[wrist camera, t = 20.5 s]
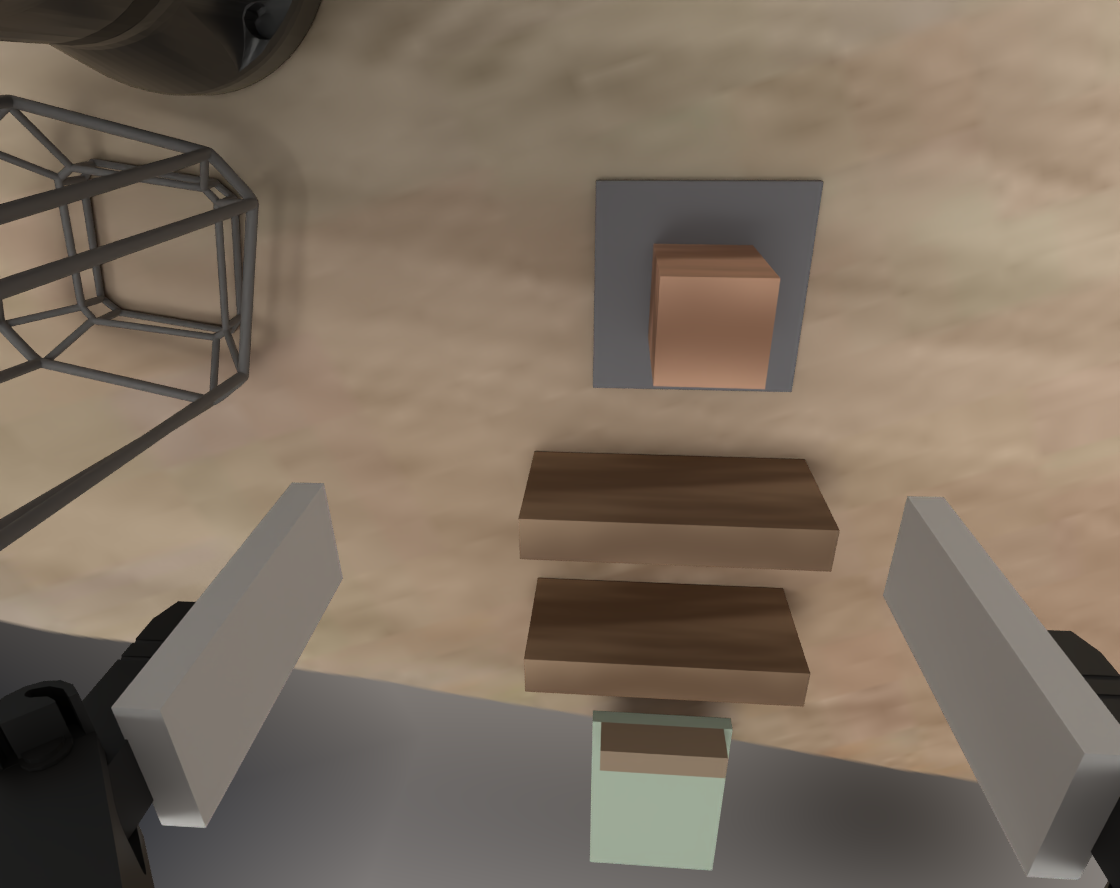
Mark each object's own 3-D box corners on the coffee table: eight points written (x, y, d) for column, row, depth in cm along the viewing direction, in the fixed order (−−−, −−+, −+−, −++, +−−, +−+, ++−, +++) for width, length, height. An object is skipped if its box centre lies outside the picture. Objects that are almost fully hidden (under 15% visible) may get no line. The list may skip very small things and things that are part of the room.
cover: (593, 710, 42) (591, 750, 39) (730, 718, 41) (737, 758, 39) (590, 850, 48) (588, 892, 45) (710, 858, 47) (715, 901, 44)
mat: (596, 179, 36) (595, 181, 35) (820, 180, 35) (823, 181, 34) (593, 383, 40) (593, 387, 40) (789, 387, 40) (791, 392, 39)
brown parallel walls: (534, 451, 43) (518, 518, 36) (804, 459, 42) (839, 530, 35) (538, 607, 48) (525, 691, 41) (777, 618, 47) (803, 706, 40)
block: (653, 243, 36) (660, 276, 30) (752, 245, 36) (780, 278, 30) (648, 337, 38) (653, 386, 32) (741, 339, 38) (764, 389, 32)
